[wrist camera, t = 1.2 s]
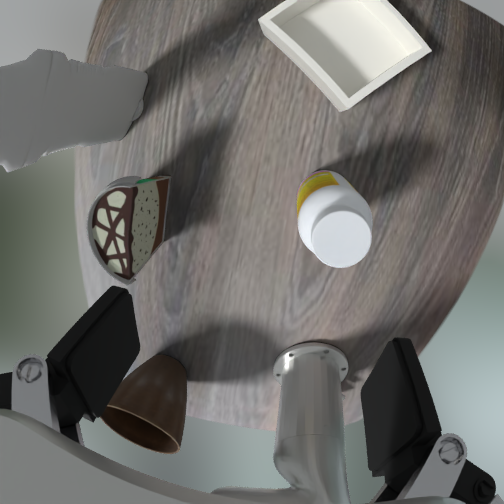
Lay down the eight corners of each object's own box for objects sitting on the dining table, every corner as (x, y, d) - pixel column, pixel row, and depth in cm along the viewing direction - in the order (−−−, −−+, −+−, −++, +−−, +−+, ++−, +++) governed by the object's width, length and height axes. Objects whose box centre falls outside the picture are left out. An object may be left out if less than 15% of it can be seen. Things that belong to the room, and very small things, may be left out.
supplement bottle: (287, 210, 33) (283, 260, 21) (310, 160, 30) (320, 181, 18) (337, 232, 33) (357, 290, 22) (361, 184, 30) (398, 220, 19)
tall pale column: (127, 148, 32) (-16, 195, 12) (106, 137, 32) (-34, 176, 12) (159, 74, 27) (12, 48, 8) (135, 66, 27) (-9, 46, 7)
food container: (132, 157, 32) (83, 171, 23) (173, 164, 32) (130, 181, 23) (126, 240, 38) (86, 273, 29) (162, 251, 38) (127, 289, 29)
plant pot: (154, 388, 54) (126, 444, 39) (121, 339, 48) (81, 398, 34) (215, 391, 50) (194, 459, 36) (187, 338, 44) (151, 414, 30)
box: (414, 59, 22) (431, 50, 18) (339, 112, 27) (348, 109, 22) (341, -16, 19) (347, -34, 15) (263, 34, 24) (257, 19, 19)
